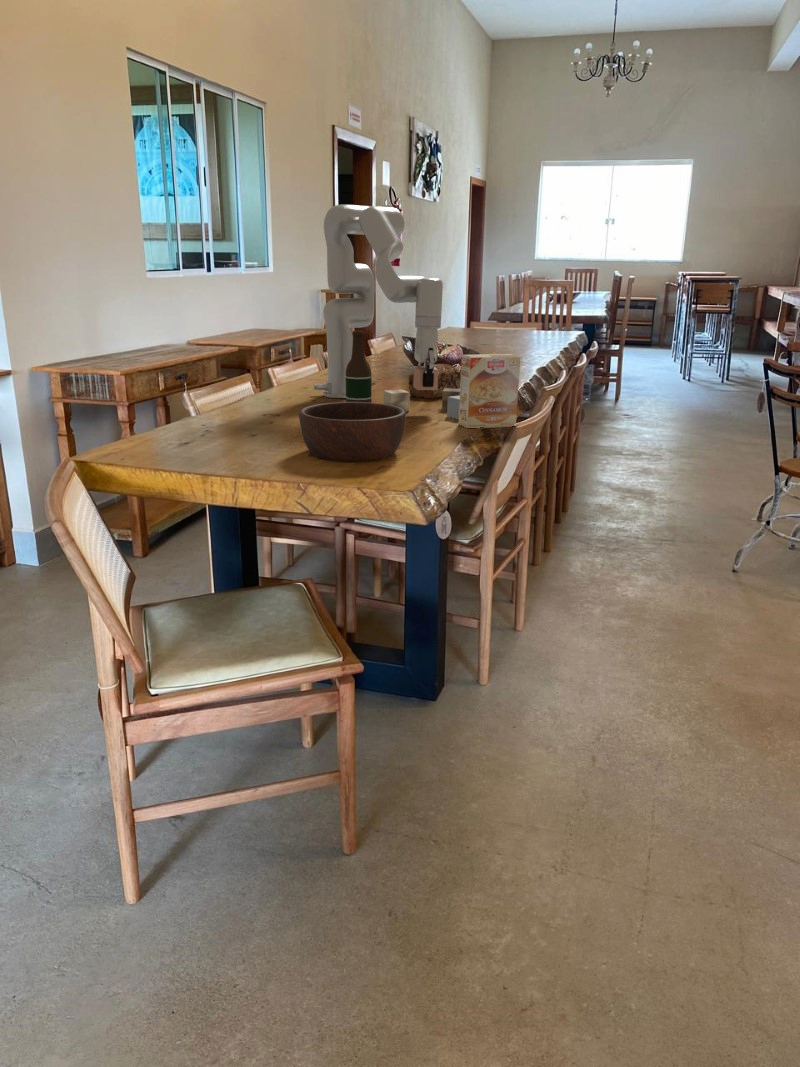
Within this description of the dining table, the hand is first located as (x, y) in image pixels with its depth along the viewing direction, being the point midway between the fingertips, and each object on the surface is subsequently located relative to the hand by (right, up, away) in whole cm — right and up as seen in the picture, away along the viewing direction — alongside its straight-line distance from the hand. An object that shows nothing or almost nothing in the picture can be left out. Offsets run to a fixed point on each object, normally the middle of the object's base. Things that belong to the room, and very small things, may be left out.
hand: (425, 384), depth 236 cm
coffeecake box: (+17, -15, -14) cm, 26 cm away
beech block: (-9, -7, +6) cm, 13 cm away
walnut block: (+9, -6, +11) cm, 15 cm away
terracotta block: (0, -1, 0) cm, 1 cm away
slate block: (+10, -10, -2) cm, 15 cm away
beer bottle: (-20, -8, +2) cm, 22 cm away
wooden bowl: (-19, -26, -47) cm, 57 cm away
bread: (+4, +3, +37) cm, 38 cm away
